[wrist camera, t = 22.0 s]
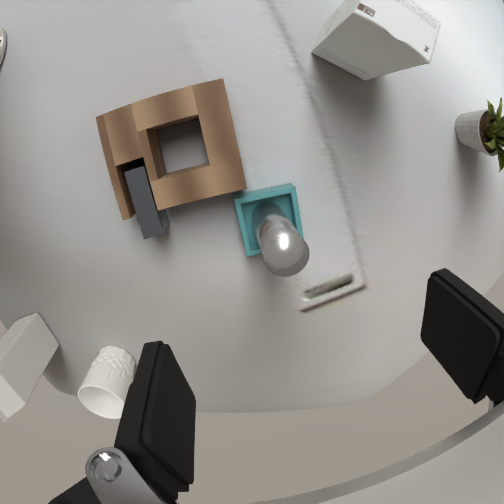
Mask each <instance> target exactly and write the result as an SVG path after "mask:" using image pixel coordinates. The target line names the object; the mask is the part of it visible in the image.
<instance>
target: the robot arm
mask: <svg viewBox="0 0 504 504" xmlns="http://www.w3.org/2000/svg"><path fill="white" fill-rule="evenodd" d="M5 48H6V33H5V31H4V29H3V28H2V27H0V65H1V62H2V60H3V56H4V53H5ZM421 340H422V342H423V343H424V344H425V346H426V347H427V348H428V349H429V350H430V352H431V353H432V354H433V355H434V356H435V358H436V359H437V360H438V362H439V363H440V364H441V365H442V366H443V368H444V369H445V370H446V372H447V373H448V374H449V375H450V377H451V378H452V379H453V381H454V382H455V383H456V384H457V386H458V387H459V389H460V390H461V391H462V392H463V394H464V395H465V396H466V398H468V399H471V400H472V401H473V403H474V404H476V403H478V402H479V401H481V400H482V399H484V398H485V396H486V395H487V396H488V397H489V408H488V412H487V413H486V414H484V415H483V416H481V417H480V418H478V419H477V420H475V421H474V422H472V423H471V424H469V425H468V426H466V427H464V428H463V429H461V430H460V431H458V432H456V433H454V434H453V435H451V436H449V437H447V438H446V439H444V440H442V441H440V442H438V443H436V444H435V445H433V446H431V447H429V448H427V449H425V450H423V451H421V452H419V453H417V454H415V455H413V456H411V457H408V458H406V459H404V460H402V461H399V462H397V463H395V464H393V465H390V466H388V467H385V468H383V469H381V470H378V471H376V472H373V473H370V474H367V475H365V476H361V477H359V478H356V479H353V480H350V481H347V482H343V483H340V484H337V485H334V486H331V487H327V488H323V489H320V490H316V491H312V492H308V493H303V494H300V495H295V496H290V497H285V498H280V499H274V500H268V501H262V502H255V503H248V504H504V313H502V312H501V311H500V310H499V309H498V308H496V307H495V306H494V305H493V304H492V303H490V302H489V301H488V300H487V299H485V298H484V297H483V296H482V295H481V294H479V293H478V292H477V291H475V290H474V289H473V288H472V287H470V286H469V285H468V284H466V283H465V282H464V281H463V280H461V279H460V278H459V277H457V276H456V275H455V274H453V273H452V272H451V271H449V270H448V269H446V268H444V269H441V270H438V271H435V272H433V273H432V274H431V276H430V278H429V279H428V284H427V293H426V301H425V309H424V316H423V322H422V328H421ZM195 412H196V400H195V396H194V394H193V392H192V390H191V388H190V386H189V384H188V382H187V380H186V379H185V377H184V375H183V373H182V371H181V369H180V367H179V365H178V363H177V361H176V359H175V356H174V354H173V352H172V350H171V348H170V346H169V345H168V344H164V343H163V342H162V341H156V342H149V343H145V344H144V347H143V350H142V353H141V357H140V360H139V364H138V367H137V371H136V374H135V378H134V382H132V383H131V384H130V386H129V388H128V392H127V396H126V400H125V403H124V407H123V411H122V415H121V419H120V423H119V427H118V431H117V436H116V440H115V444H114V448H113V447H105V448H101V449H99V450H96V451H95V452H94V453H93V454H91V456H90V457H89V458H88V460H87V463H86V466H85V473H86V476H87V477H85V478H84V479H82V480H81V481H79V482H78V483H77V484H75V485H74V486H72V487H71V488H69V489H68V490H66V491H65V492H63V493H62V494H60V495H59V496H57V497H55V498H54V499H53V500H51V501H50V502H49V503H48V504H180V503H179V502H177V499H178V492H188V491H189V484H192V483H193V481H194V441H195Z"/></svg>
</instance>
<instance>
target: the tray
mask: <svg viewBox="0 0 504 504" xmlns="http://www.w3.org/2000/svg"><path fill="white" fill-rule="evenodd" d="M233 197H234V202H235V207H236V211H237V215H238V220H239V224H240V228H241V233H242V237H243V241H244V246H245V250H246V255H247V257H248V256H252V255H257V254H261V253H262V252H261V249H260V246H259V243H258V240H257V237H256V233H255V230H254V227H253V224H252V221H251V214H252V211H253V209H254V208H255V207H256V206H257V205H258V204H260V203H262V202H273V203H275V204H277V205H278V206H279V207H280V208H281V209H282V211H283V212H284V213H285V215H286V216H287V217H288V219H289V220H290V222H291V223H292V224H293V226H294V227H295V228H296V230H297V231H298V232H299V234H300V235H301V237H302V238H303V232H302V225H301V219H300V212H299V206H298V200H297V194H296V188H295V186H294V185H292V184H291V183H290V184H285V185H280V186H275V187H270V188H265V189H260V190H256V191H251V192H247V193H242V194H238V195H233ZM303 239H304V238H303Z"/></svg>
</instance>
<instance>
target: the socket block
mask: <svg viewBox="0 0 504 504" xmlns="http://www.w3.org/2000/svg"><path fill="white" fill-rule="evenodd" d="M197 118H199V120H200V125H201V129H202V133H203V138H204V142H205V146H206V151H207V155H208V159H209V163H206V164H202V165H198V166H194V167H190V168H186V169H182V170H179V171H175V172H171V173H168V174H167V173H166V169H165V165H164V161H163V157H162V153H161V149H160V145H159V140H158V136H157V132H156V130H157V129H161V128H164V127H168V126H171V125H175V124H178V123H182V122H186V121H189V120H193V119H197ZM96 121H97V125H98V130H99V134H100V139H101V143H102V147H103V151H104V155H105V159H106V163H107V167H108V171H109V174H110V178H111V182H112V185H113V189H114V192H115V196H116V199H117V202H118V206H119V209H120V212H121V215H122V218H123V220H126V219H129V218H131V217H132V216H133V215H134V214H135V213H136V212H135V208H134V205H133V202H132V198H131V195H130V191H129V188H128V184H127V181H126V177H125V173H124V172H126V171H129V170H131V167H130V163H129V162H130V161H133V160H136V159H139V158H142V157H144V161H145V165H146V169H147V173H148V177H149V180H150V184H151V188H152V191H153V195H154V198H155V202H156V205H157V209H158V210H162V209H165V208H169V207H173V206H177V205H180V204H184V203H188V202H192V201H196V200H200V199H204V198H209V197H213V196H217V195H221V194H225V193H230V192H234V191H239V190H243V189H247V186H246V181H245V177H244V172H243V167H242V163H241V158H240V154H239V149H238V144H237V140H236V135H235V131H234V126H233V122H232V117H231V112H230V108H229V103H228V99H227V94H226V90H225V85H224V81H223V79H218V80H213V81H209V82H204V83H200V84H196V85H192V86H188V87H184V88H181V89H177V90H173V91H170V92H166V93H163V94H160V95H156V96H153V97H150V98H147V99H144V100H141V101H138V102H135V103H132V104H129V105H126V106H124V107H121V108H118V109H115V110H113V111H110V112H108V113H105V114H103V115H100V116H98V117H96Z"/></svg>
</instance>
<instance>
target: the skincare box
mask: <svg viewBox="0 0 504 504" xmlns="http://www.w3.org/2000/svg"><path fill="white" fill-rule="evenodd" d="M440 25H441V22H440V21H439V20H438V19H436V18H435V17H434V16H433V15H431V14H430V13H429V12H427V11H426V10H425V9H423V8H422V7H421V6H419V5H418V4H416V3H415V2H414V1H412V0H345V1H344V2H343V3H342V4H341V5H340V6H339V7H338V8H337V9H336V10H335V11H334V13H333V14H332V15H331V16H330V17H329V18H328V19H327V20H326V21H325V24H324V26H323V28H322V30H321V32H320V34H319V36H318V39H317V41H316V43H315V45H314V47H313V49H312V52H311V53H313V54H315V55H317V56H319V57H321V58H323V59H325V60H327V61H329V62H331V63H333V64H335V65H337V66H339V67H340V68H342V69H344V70H346V71H348V72H350V73H352V74H354V75H356V76H357V77H359V78H361V79H362V80H364V81H366V80H369V79H372V78H376V77H379V76H382V75H385V74H389V73H392V72H396V71H400V70H403V69H407V68H411V67H415V66H419V65H423V64H429V63H430V61H431V57H432V54H433V51H434V47H435V43H436V39H437V35H438V32H439V29H440Z"/></svg>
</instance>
